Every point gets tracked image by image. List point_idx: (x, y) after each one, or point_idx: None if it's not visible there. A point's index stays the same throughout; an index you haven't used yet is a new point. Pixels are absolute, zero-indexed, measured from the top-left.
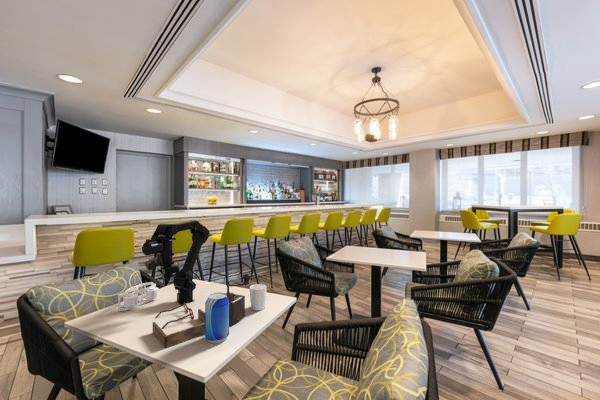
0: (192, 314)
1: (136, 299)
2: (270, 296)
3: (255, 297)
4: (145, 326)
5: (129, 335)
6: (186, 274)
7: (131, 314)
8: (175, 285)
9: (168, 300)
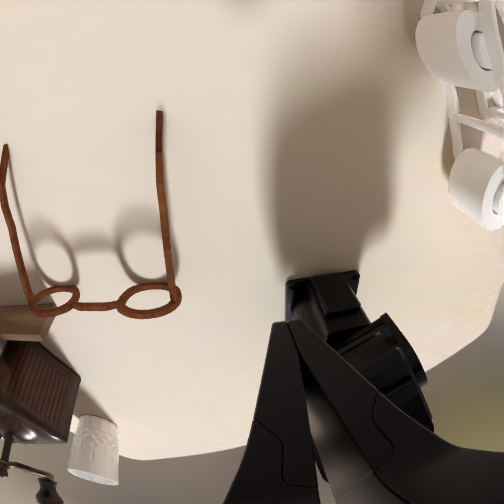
0: (30, 301)
1: (450, 67)
2: (168, 452)
3: (72, 448)
4: (69, 62)
5: (24, 9)
6: (321, 471)
7: (333, 9)
8: (368, 346)
9: (397, 237)
